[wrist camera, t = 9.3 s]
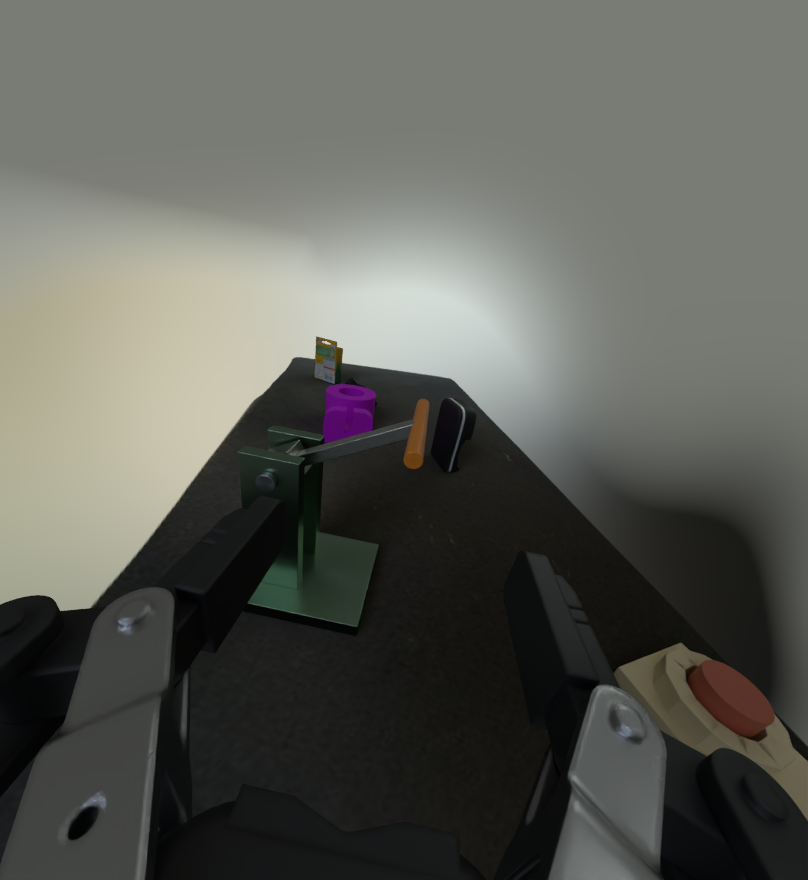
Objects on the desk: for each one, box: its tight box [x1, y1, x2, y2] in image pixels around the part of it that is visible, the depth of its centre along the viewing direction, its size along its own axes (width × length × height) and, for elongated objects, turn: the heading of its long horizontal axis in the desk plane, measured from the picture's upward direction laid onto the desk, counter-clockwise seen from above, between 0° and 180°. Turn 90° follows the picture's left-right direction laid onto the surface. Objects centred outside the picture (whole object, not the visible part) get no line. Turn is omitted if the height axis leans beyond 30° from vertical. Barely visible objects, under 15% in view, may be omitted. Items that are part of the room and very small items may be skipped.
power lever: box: [269, 399, 429, 474], centre depth 22 cm, size 13×10×2 cm
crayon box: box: [315, 337, 343, 384], centre depth 84 cm, size 7×3×12 cm, turn 63°
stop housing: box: [613, 643, 808, 821], centre depth 20 cm, size 10×8×4 cm
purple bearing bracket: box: [323, 384, 376, 443], centre depth 59 cm, size 16×10×6 cm, turn 7°
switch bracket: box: [237, 426, 379, 636], centre depth 26 cm, size 16×9×14 cm, turn 83°
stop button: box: [688, 660, 775, 737], centre depth 20 cm, size 4×4×2 cm
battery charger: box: [431, 398, 476, 472], centre depth 51 cm, size 7×4×11 cm, turn 18°
